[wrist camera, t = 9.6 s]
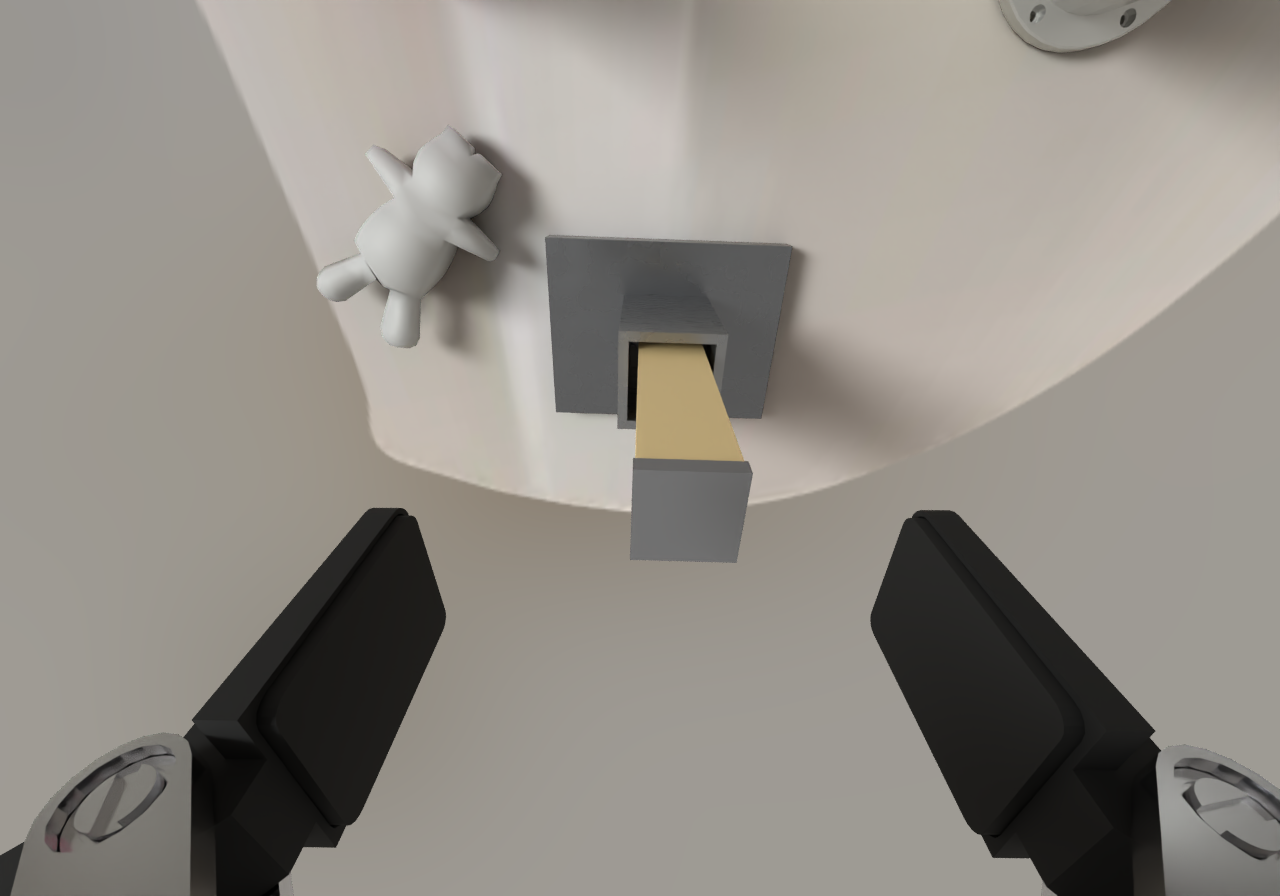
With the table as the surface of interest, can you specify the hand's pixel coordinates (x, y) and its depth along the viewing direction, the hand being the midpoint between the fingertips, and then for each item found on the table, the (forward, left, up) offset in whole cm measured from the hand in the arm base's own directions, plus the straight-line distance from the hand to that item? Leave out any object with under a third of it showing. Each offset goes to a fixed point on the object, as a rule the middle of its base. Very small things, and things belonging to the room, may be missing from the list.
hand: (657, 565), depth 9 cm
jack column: (-2, +4, -24) cm, 24 cm away
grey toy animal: (+17, -2, -32) cm, 36 cm away
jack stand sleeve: (-2, +4, -32) cm, 32 cm away
